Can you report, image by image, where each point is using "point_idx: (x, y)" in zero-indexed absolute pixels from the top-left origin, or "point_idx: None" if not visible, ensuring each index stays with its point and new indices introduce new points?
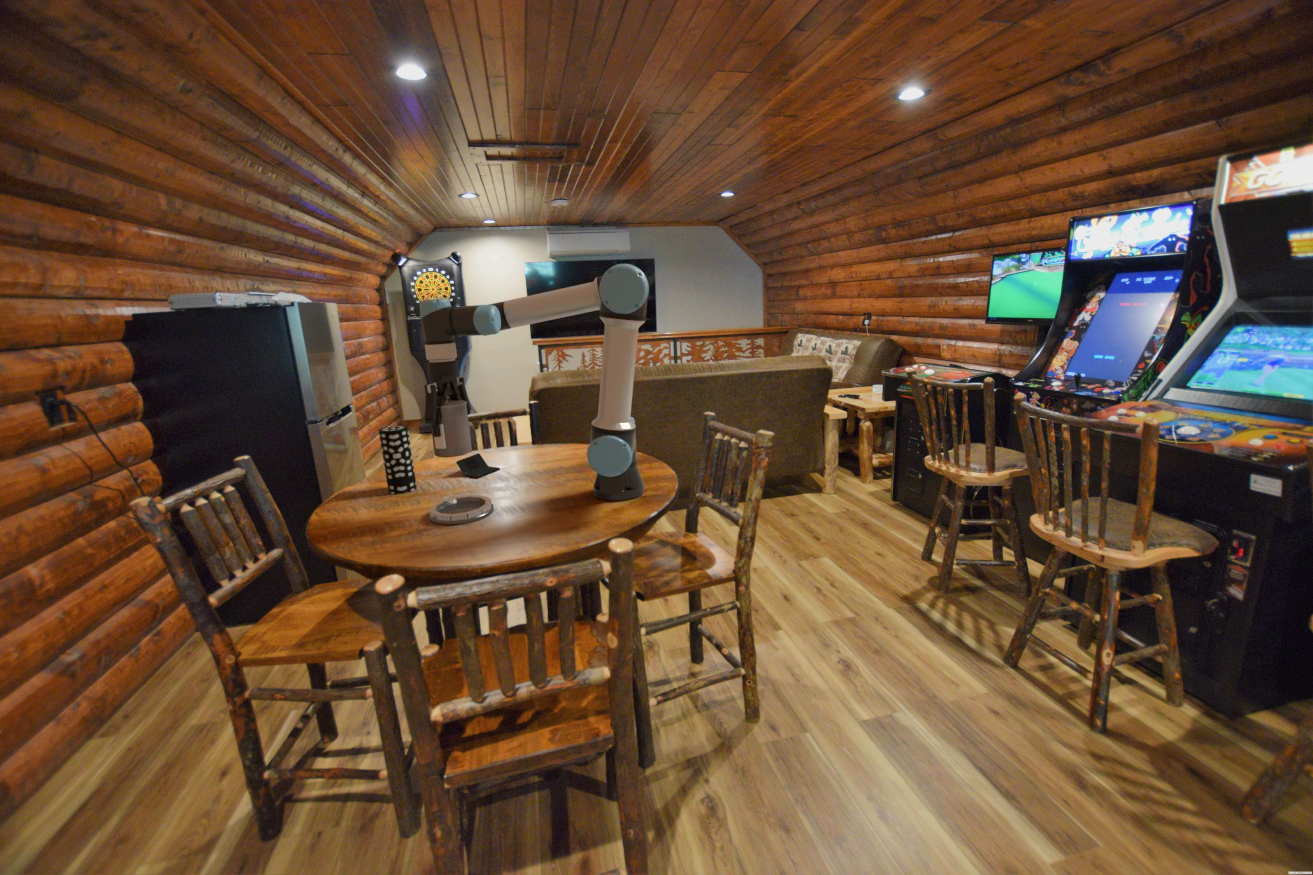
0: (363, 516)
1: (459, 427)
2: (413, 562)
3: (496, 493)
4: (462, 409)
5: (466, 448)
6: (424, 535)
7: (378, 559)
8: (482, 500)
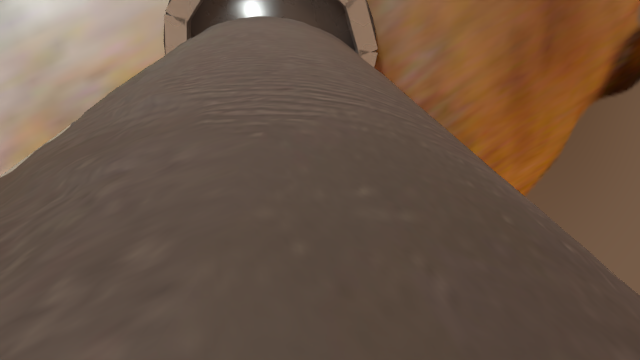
0: None
1: (427, 114)
2: (607, 31)
3: (45, 8)
4: (540, 316)
5: (316, 29)
6: (437, 90)
7: (556, 127)
8: (199, 3)
